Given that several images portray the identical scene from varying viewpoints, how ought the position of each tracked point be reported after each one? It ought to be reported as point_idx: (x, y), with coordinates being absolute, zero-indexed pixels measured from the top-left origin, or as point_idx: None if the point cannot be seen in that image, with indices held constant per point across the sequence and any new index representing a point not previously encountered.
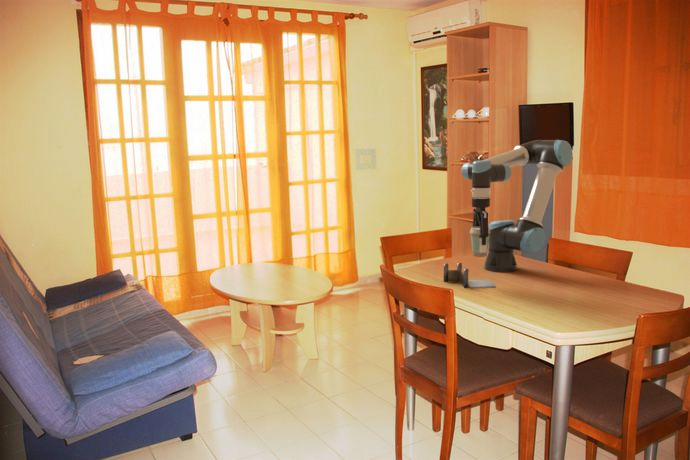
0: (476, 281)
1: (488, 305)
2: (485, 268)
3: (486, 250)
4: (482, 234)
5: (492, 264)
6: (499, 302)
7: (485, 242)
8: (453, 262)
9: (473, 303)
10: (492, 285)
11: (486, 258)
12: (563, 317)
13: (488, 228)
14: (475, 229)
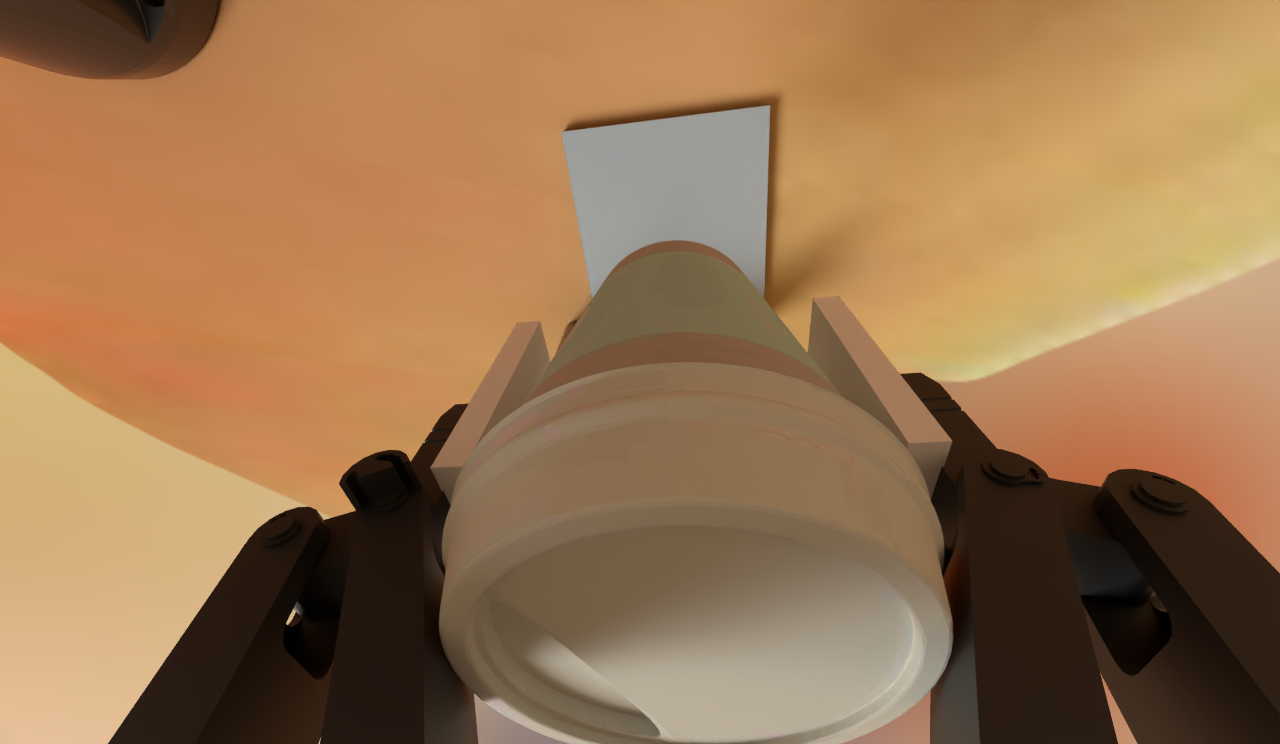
0: (626, 237)
1: (1181, 254)
2: (159, 75)
3: (748, 280)
4: (1115, 608)
5: (131, 3)
6: (1164, 164)
7: (950, 406)
8: (68, 298)
9: (1088, 331)
10: (750, 132)
11: (20, 57)
12: None
13: (842, 535)
14: (836, 734)
